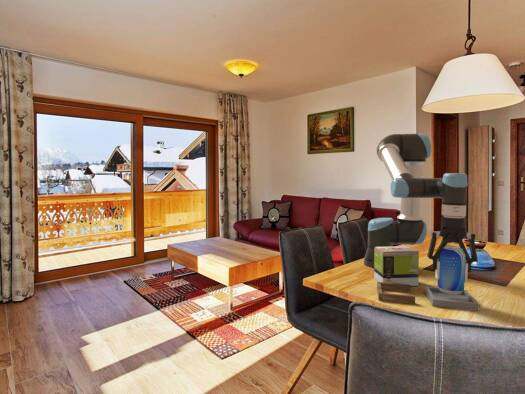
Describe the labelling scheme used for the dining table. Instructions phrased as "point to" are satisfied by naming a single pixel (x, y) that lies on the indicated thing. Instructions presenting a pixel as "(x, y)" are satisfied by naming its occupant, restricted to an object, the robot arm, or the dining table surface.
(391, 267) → the tea box
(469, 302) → the tray
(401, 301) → the frame
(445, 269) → the beer can
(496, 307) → the dining table surface
